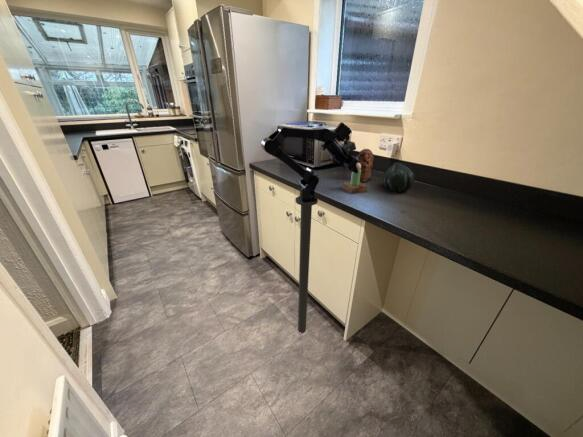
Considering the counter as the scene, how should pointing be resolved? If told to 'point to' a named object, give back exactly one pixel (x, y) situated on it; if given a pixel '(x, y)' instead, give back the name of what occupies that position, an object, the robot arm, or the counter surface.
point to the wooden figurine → (365, 164)
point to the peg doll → (356, 176)
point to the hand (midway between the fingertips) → (352, 170)
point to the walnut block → (354, 187)
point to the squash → (398, 178)
